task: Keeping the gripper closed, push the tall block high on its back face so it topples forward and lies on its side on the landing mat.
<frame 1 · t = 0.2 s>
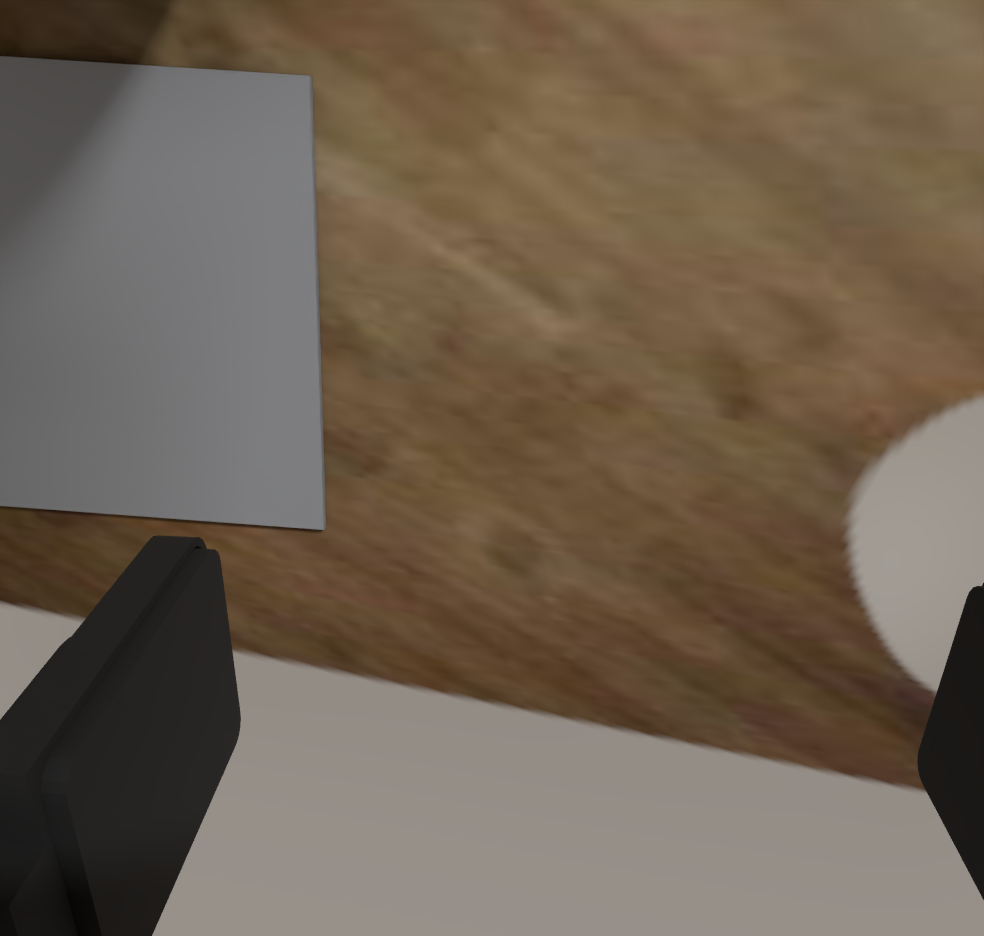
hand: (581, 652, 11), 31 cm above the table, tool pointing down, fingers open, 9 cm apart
landing mat: (135, 313, 42), on the table
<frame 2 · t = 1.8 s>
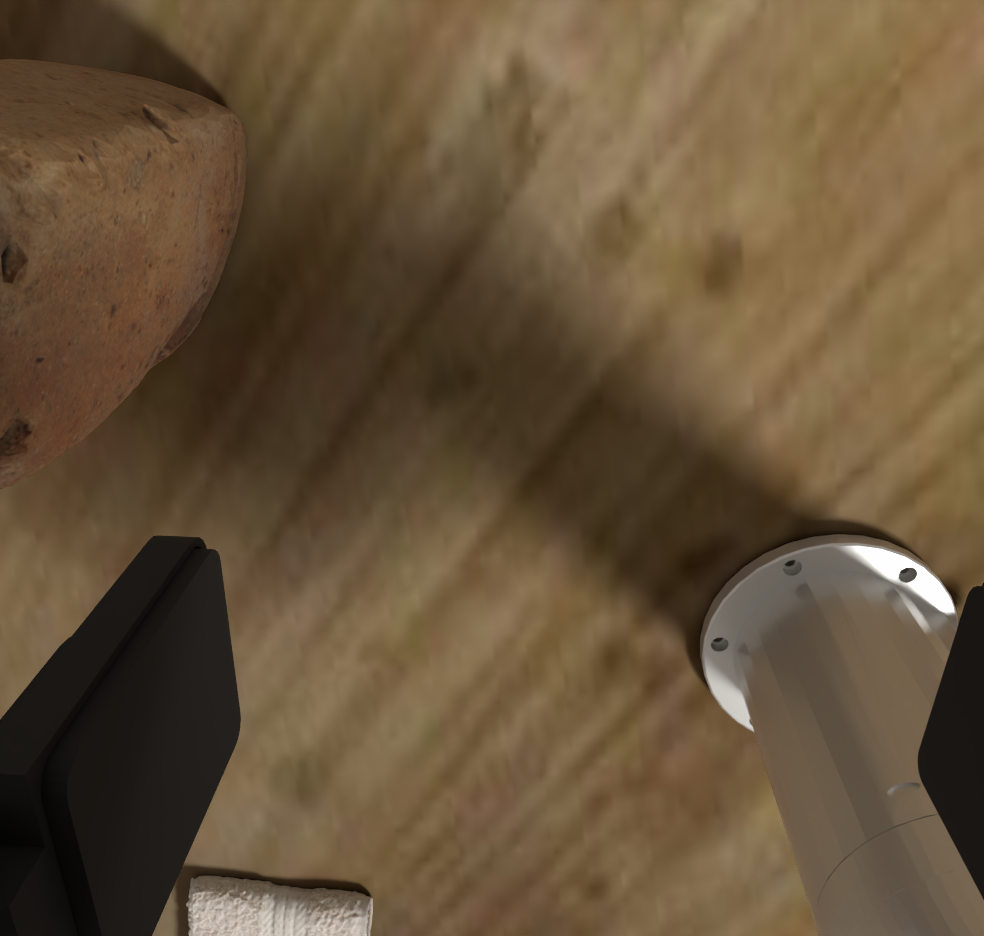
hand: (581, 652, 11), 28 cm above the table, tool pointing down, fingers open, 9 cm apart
block: (163, 206, 37), on the table
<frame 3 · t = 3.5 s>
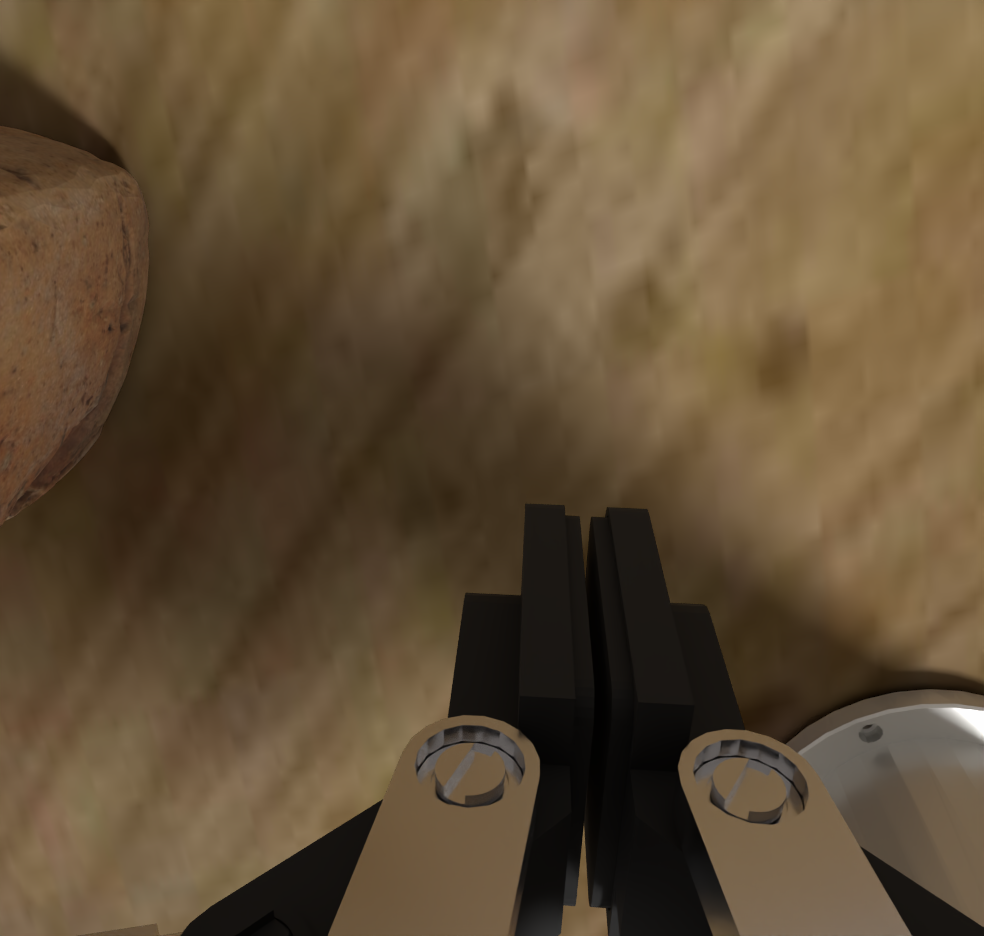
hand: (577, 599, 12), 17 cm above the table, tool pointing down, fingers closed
block: (50, 289, 28), on the table
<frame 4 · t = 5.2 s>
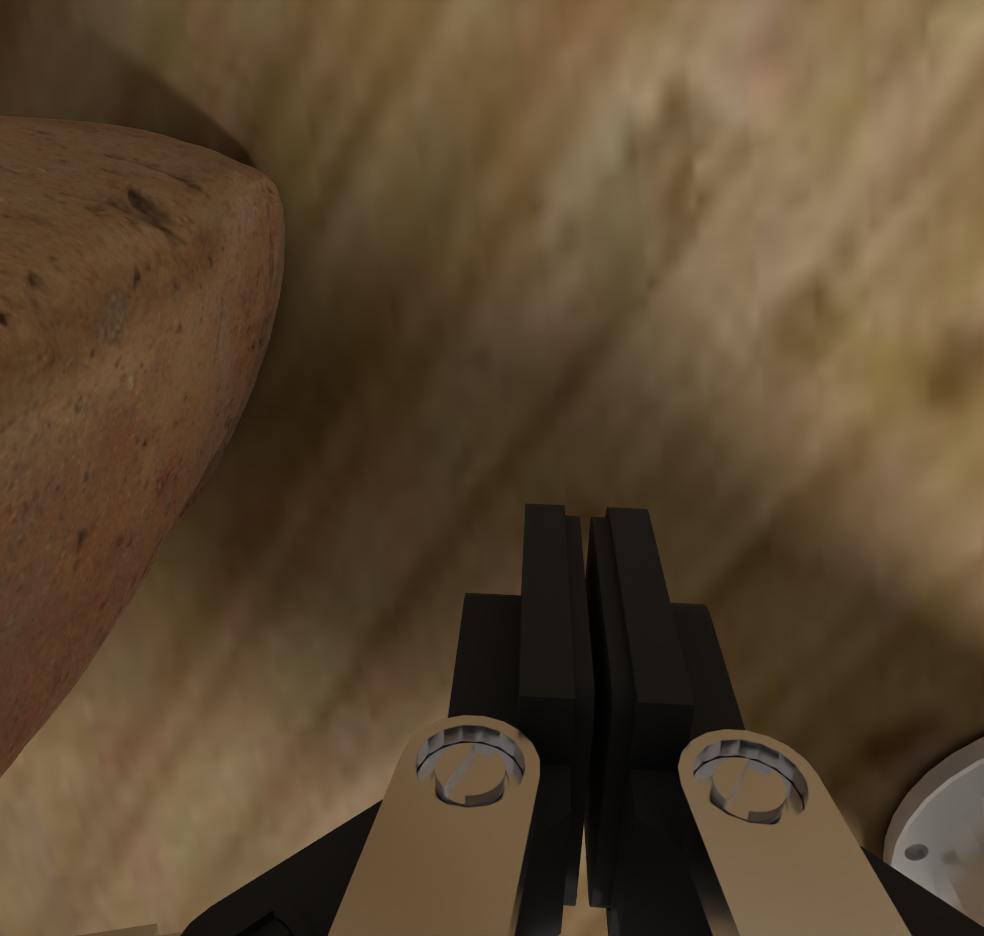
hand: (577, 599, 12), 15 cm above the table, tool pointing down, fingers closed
block: (169, 301, 27), on the table
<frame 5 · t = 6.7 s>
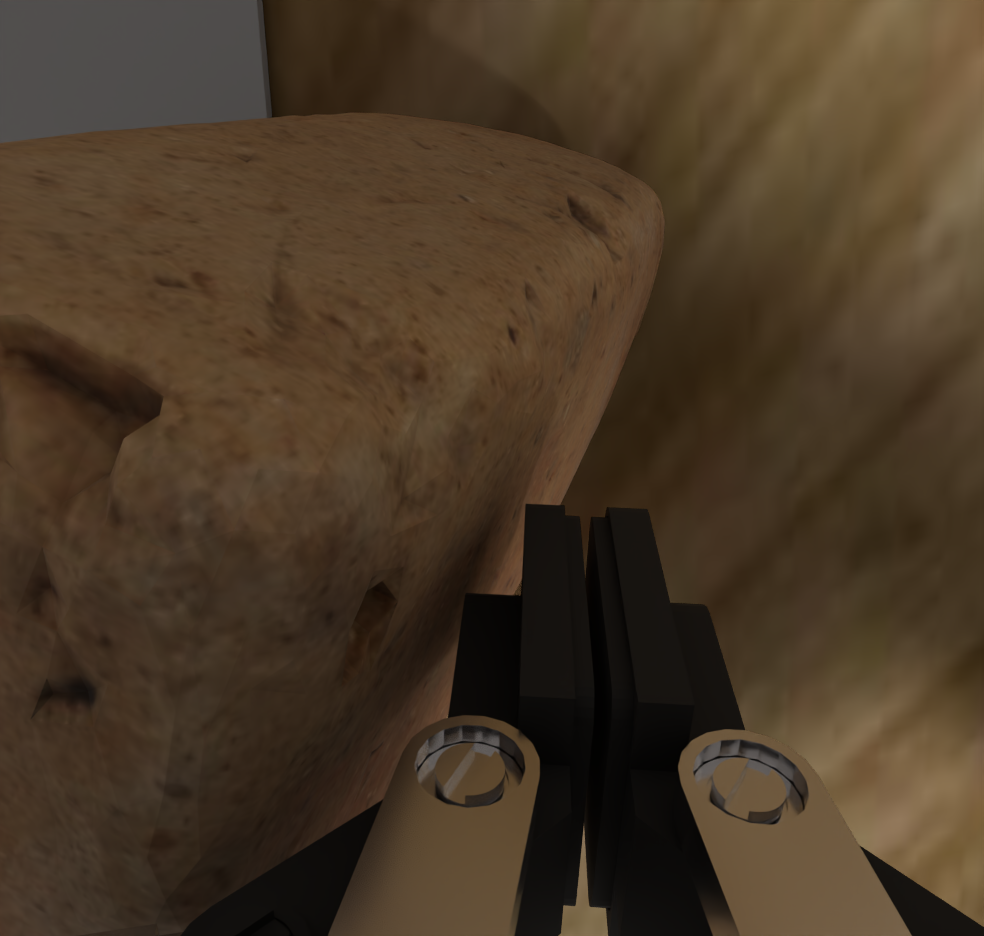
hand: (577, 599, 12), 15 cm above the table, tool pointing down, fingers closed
block: (514, 318, 25), point 1 cm above the table, touching gripper
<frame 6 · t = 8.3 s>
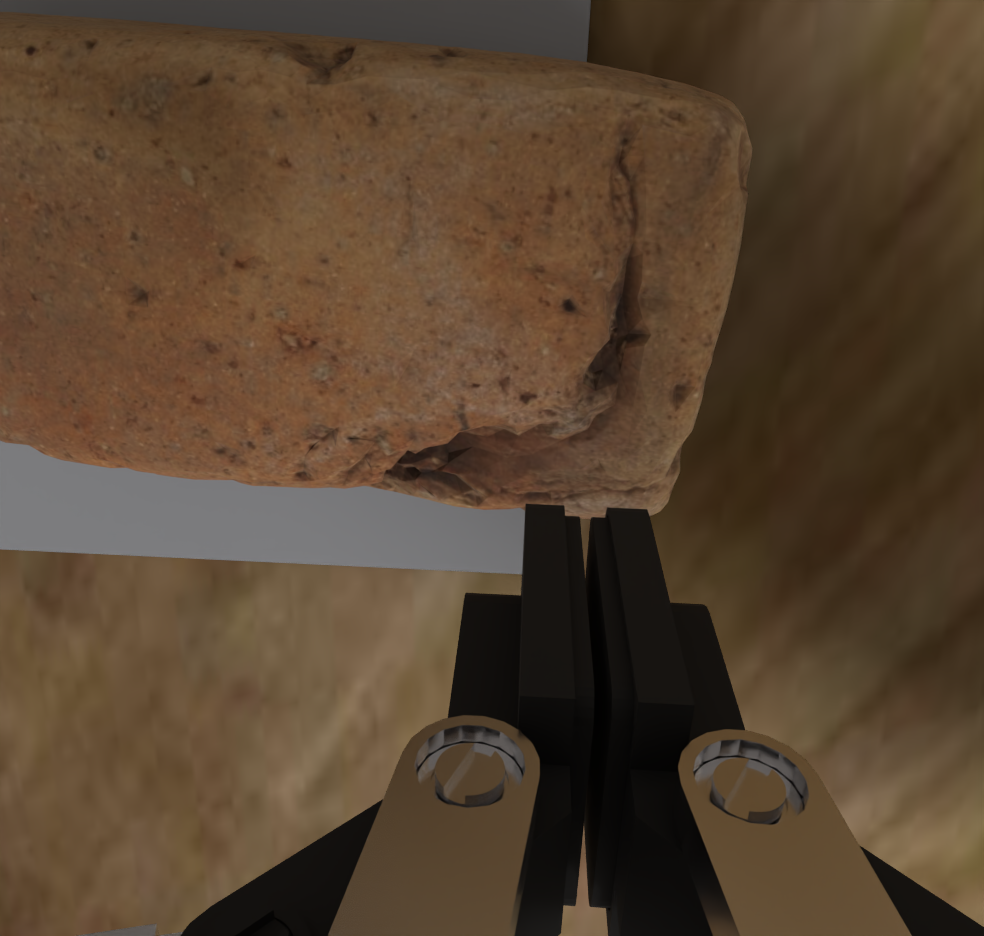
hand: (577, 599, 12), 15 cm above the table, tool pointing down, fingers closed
landing mat: (206, 297, 26), on the table
block: (716, 317, 21), point 4 cm above the table, touching landing mat
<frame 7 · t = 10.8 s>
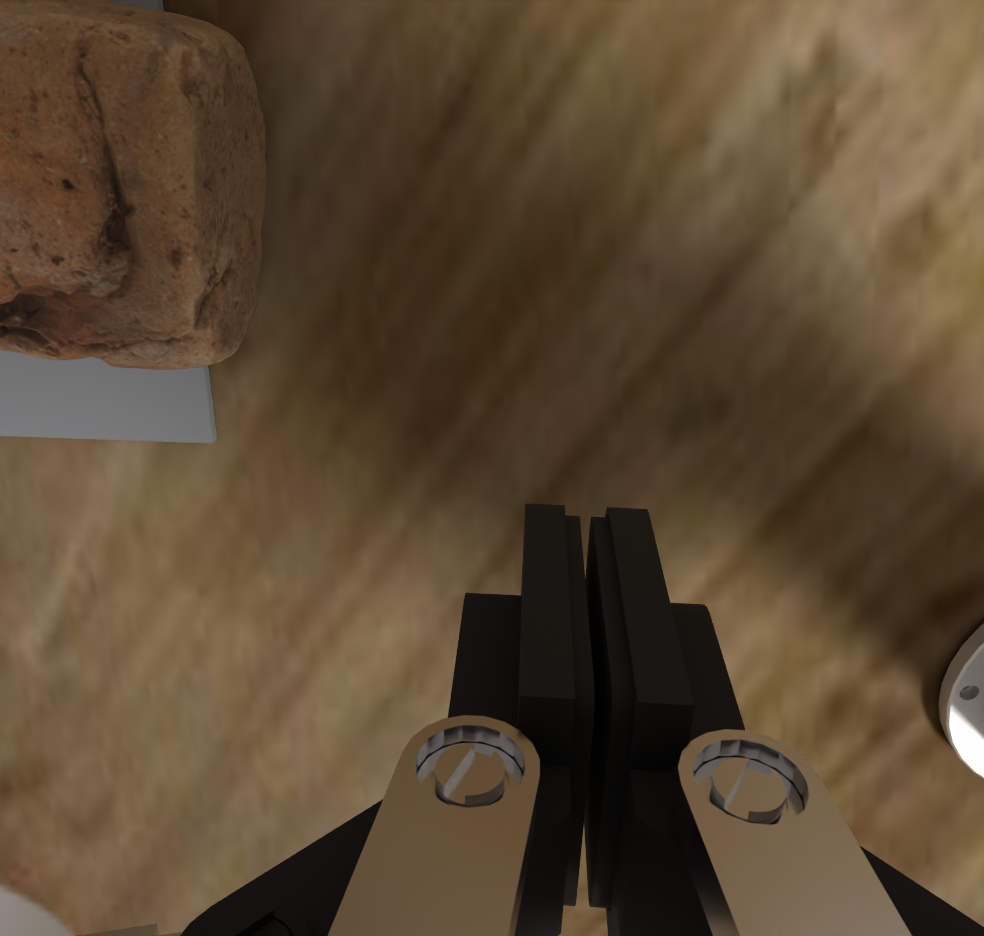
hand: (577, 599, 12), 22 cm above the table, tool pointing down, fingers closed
block: (248, 207, 27), point 4 cm above the table, touching landing mat
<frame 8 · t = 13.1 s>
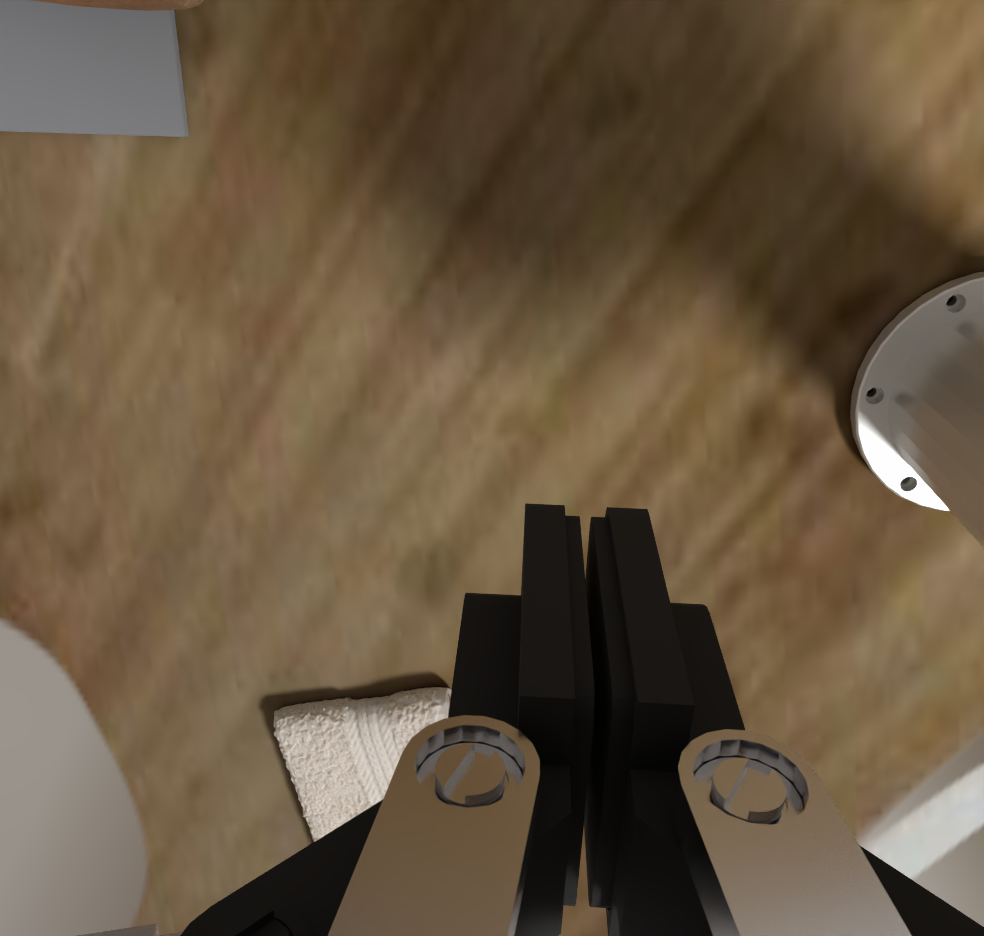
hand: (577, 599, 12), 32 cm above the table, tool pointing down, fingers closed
washcloth: (395, 786, 58), on the table
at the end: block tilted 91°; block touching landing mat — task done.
